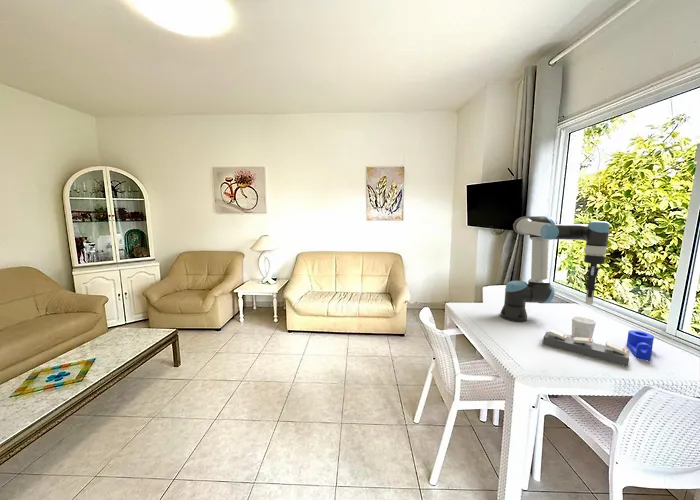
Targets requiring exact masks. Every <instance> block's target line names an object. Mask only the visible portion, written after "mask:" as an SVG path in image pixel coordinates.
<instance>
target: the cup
mask: <svg viewBox="0 0 700 500" xmlns="http://www.w3.org/2000/svg"><path fill="white" fill-rule="evenodd" d="M596 324H597V322H596V321H595V320H594V319H592V318H589V317H583V316H572V317H571V336H573V338H575V337H581V338H593V336H594V332H595V327H596Z"/></svg>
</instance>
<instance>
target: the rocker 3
mask: <svg viewBox="0 0 700 500" xmlns="http://www.w3.org/2000/svg"><path fill="white" fill-rule="evenodd" d="M605 347H607V348H609V349H612V350H614V351H617V352H619V353H622V354H624V355H625V354H626V351H627V349H626V348H623V347H621V346H618V345H616V344H614V343H611V342H609V341H606V342H605Z"/></svg>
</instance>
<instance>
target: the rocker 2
mask: <svg viewBox="0 0 700 500" xmlns="http://www.w3.org/2000/svg"><path fill="white" fill-rule="evenodd" d="M573 338H574V337H573ZM574 342H576V343H590V344H592V343H594V339H593V337H592V338H581V337H575V338H574Z"/></svg>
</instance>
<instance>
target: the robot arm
mask: <svg viewBox="0 0 700 500" xmlns="http://www.w3.org/2000/svg"><path fill="white" fill-rule="evenodd" d="M512 226H513V227H512V228H513V231H515V233H517V234H518V235H523V236H524V235H525V236H529V240H531V266H530V267H531V269H530V270H531V271H530V279H528V280H527V281H525V280H524V281H523V280H511V281H507V283H506V284H505V290H504V291H505V292H504V303H503V304H504V305H502V308H501V310H500V317H501V318H503V319H504V320H508V321H510V322H519V323H521V322H526V321H528V313H527V309H526V303H532V304H533V303H534V304H535V303H536V304H549V303H550V302H551V301H552V300H553V299H554V296H555V293H556V291H555V288H554V286H553V285H552V284H551V282H550V280H549V279H548V267H549V266H548V265H549V263H548V261H549V240H565V241H566V240H568V241H570V240H571V241H572V240H575V241H577V240H579V241H586V243H585V248H584V253H585V254H584V257H583V258H584V259H583V262H584V263H587V264H589V265H588V267H587V277H588V278H587V285H586V288H584V290H585V291H586V293H585V294H586V295H585V302H584V303H585V304H588V305H593V304H594V296H595V291H597V288H596V279H597V278H598V274H599V270H600V266H598V265H603V264H604V265H605V263H606V254H607V251H609V248H607V247H608V240H609V233H610V222H608V221H599V220H598V221H595V220H591V221H589V222H588V224H582V223H581V224H580V223H577V224H566V223H565V224H562V223H561V224H560V223H559V224H557V223H556V221H555V220H554V218H553V217H551V216H546V215H545V216H543V215H541V216H535V215H534V216H529V215H528V216H526V215H525V216H521V217H519V218H517V219H516V220H515V221H514V223H513V224H512Z"/></svg>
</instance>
